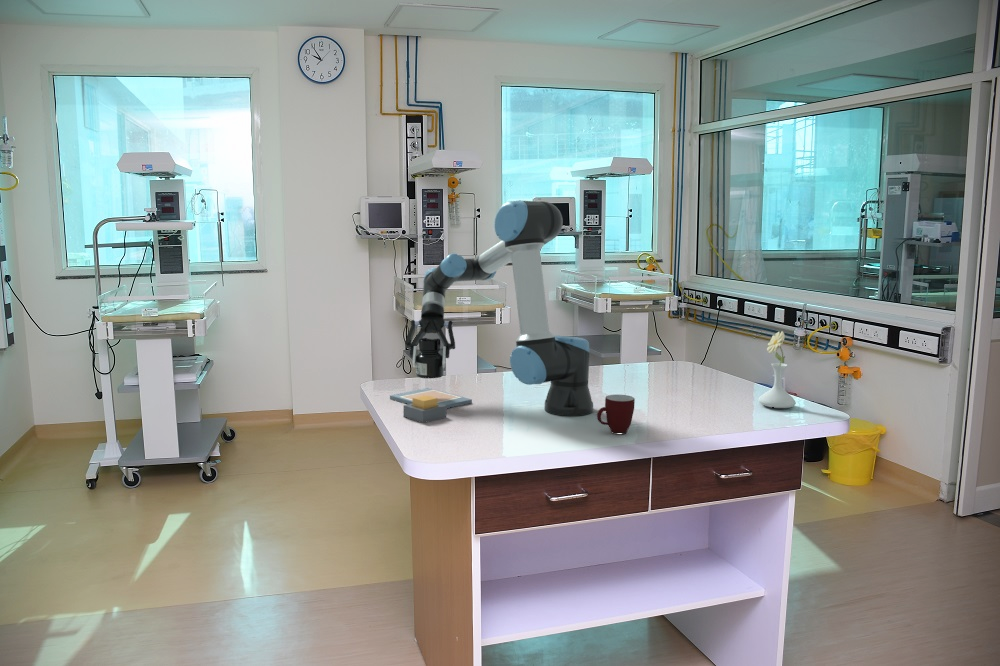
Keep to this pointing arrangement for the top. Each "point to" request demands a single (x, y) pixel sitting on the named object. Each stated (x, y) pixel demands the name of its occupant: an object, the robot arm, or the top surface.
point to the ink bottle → (429, 359)
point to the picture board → (442, 397)
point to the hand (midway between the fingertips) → (428, 365)
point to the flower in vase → (777, 378)
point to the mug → (618, 412)
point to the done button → (424, 402)
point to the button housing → (424, 412)
